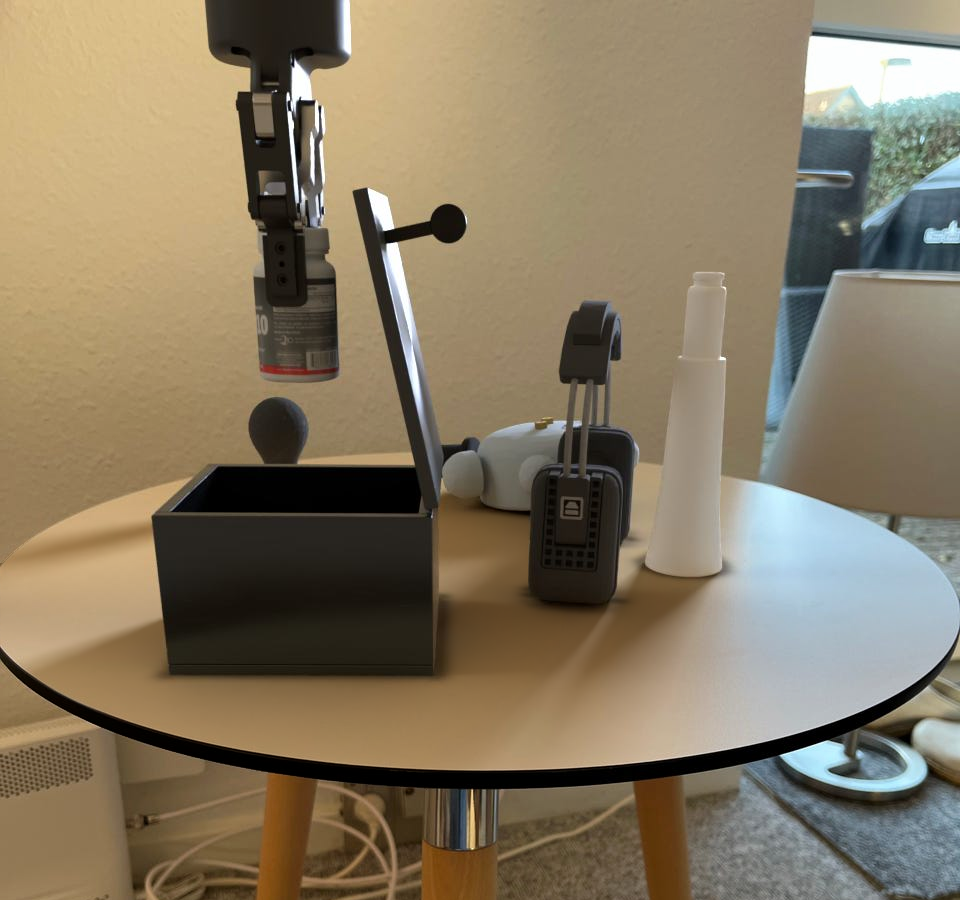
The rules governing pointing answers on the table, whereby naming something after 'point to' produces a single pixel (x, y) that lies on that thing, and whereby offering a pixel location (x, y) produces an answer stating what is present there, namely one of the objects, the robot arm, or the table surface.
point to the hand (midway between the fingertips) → (294, 301)
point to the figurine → (504, 463)
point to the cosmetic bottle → (694, 442)
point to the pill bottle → (300, 321)
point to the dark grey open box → (299, 571)
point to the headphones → (583, 475)
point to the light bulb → (278, 430)
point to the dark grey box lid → (407, 323)
